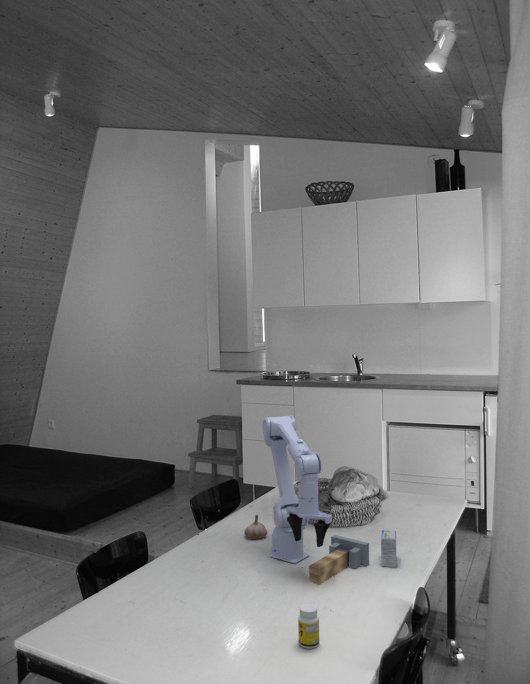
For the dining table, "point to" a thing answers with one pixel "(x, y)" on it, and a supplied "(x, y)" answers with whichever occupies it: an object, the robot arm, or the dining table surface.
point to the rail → (328, 566)
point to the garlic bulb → (255, 530)
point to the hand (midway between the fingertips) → (308, 543)
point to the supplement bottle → (308, 626)
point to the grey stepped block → (351, 550)
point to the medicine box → (388, 548)
